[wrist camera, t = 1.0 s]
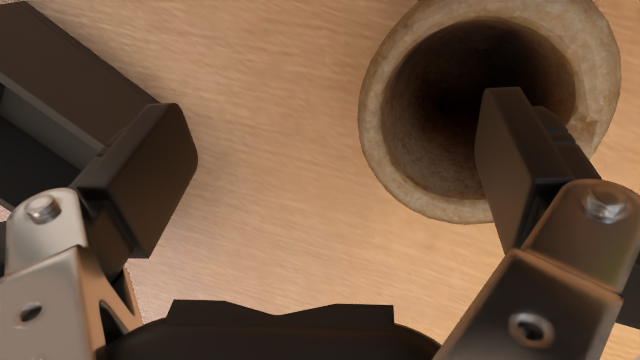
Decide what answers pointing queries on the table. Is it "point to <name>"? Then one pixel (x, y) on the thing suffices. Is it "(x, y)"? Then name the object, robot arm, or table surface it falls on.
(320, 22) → the table surface
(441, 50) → the stone cup
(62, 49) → the chest
